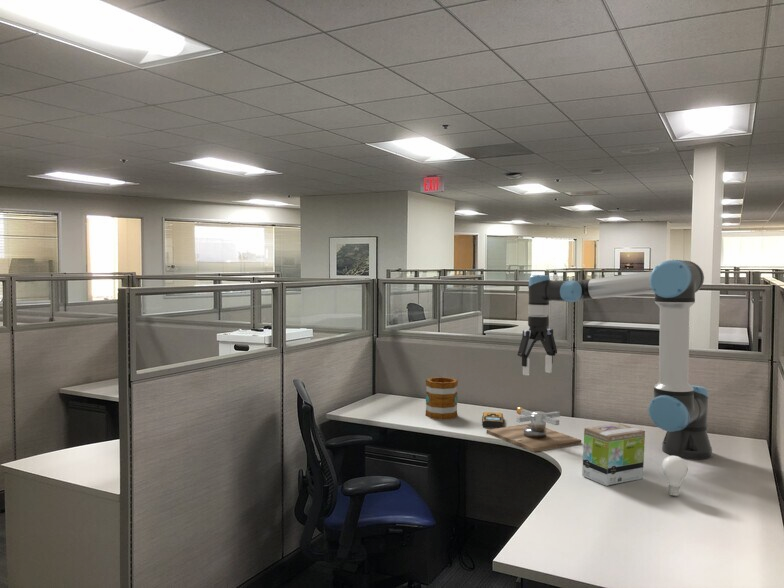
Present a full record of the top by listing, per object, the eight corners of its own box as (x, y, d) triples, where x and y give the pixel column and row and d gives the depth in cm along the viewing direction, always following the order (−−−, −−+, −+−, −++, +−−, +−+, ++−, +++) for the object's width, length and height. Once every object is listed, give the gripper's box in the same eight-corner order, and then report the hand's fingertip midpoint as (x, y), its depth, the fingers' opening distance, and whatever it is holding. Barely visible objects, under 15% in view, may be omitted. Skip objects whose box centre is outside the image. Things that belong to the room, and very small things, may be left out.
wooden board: (581, 443, 212) (581, 439, 212) (533, 451, 202) (533, 447, 202) (531, 426, 235) (531, 422, 235) (486, 433, 225) (486, 429, 225)
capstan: (577, 439, 212) (577, 415, 212) (536, 446, 203) (536, 421, 203) (536, 425, 230) (537, 403, 230) (497, 431, 221) (497, 409, 221)
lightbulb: (685, 502, 159) (686, 461, 158) (659, 497, 162) (660, 457, 162) (688, 494, 164) (689, 455, 164) (662, 490, 168) (664, 451, 167)
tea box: (607, 487, 169) (608, 435, 169) (581, 476, 178) (582, 427, 178) (644, 479, 176) (645, 429, 176) (617, 469, 185) (618, 421, 185)
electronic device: (503, 420, 247) (503, 412, 247) (503, 430, 231) (503, 421, 231) (482, 419, 248) (482, 411, 248) (481, 428, 233) (481, 419, 233)
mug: (459, 419, 244) (459, 383, 244) (426, 419, 245) (426, 383, 244) (454, 408, 264) (455, 374, 263) (424, 408, 264) (424, 374, 264)
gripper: (552, 314, 235) (551, 369, 236) (508, 316, 223) (507, 374, 223) (567, 315, 229) (566, 372, 229) (522, 317, 216) (521, 378, 217)
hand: (537, 373), depth 226 cm, fingers open, 11 cm apart
